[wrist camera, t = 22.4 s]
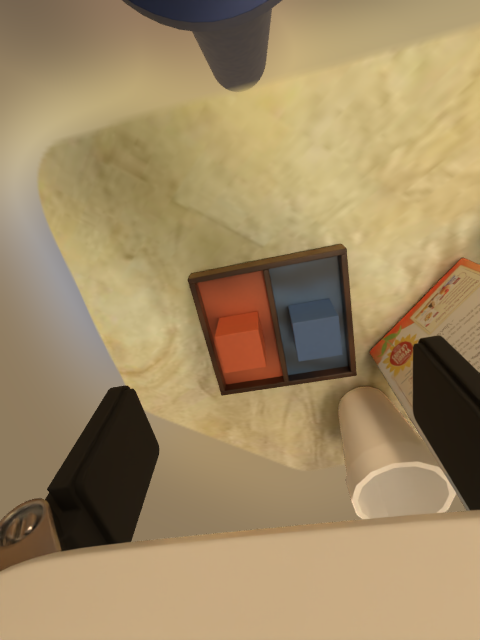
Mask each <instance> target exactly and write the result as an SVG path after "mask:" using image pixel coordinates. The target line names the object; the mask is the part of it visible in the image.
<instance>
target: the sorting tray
mask: <svg viewBox="0 0 480 640" xmlns="http://www.w3.org/2000/svg"><path fill="white" fill-rule="evenodd" d="M188 282H189V286H190V289H191V293H192V296H193V299H194V303H195V306H196V310H197V313H198V316H199V320H200V323H201V327H202V330H203V334H204V337H205V340H206V344H207V347H208V351H209V354H210V357H211V361H212V364H213V368H214V371H215V375H216V378H217V381H218V385H219V388H220V391H221V395H228V394H235V393H242V392H249V391H255V390H262V389H269V388H276V387H282V386H289V385H296V384H303V383H309V382H316V381H323V380H330V379H337V378H343V377H350V376H356V375H357V373H356V361H355V348H354V336H353V323H352V311H351V299H350V286H349V274H348V262H347V249H346V248H345V247H344V246H343V245H342V244H338V245H333V246H328V247H323V248H318V249H313V250H308V251H303V252H298V253H292V254H287V255H282V256H277V257H272V258H267V259H262V260H257V261H252V262H247V263H242V264H237V265H232V266H227V267H222V268H217V269H211V270H206V271H201V272H196V273H191V274H190V276H189V278H188ZM323 299H330V301H331V303H332V304H333V306H334V308H335V310H336V312H337V314H338V316H339V325H340V335H341V345H342V355H338V356H331V357H325V358H318V359H312V360H306V361H298V357H297V353H296V348H295V343H294V338H293V332H292V326H291V320H290V314H289V308H288V306H290V305H295V304H301V303H306V302H312V301H318V300H323ZM256 311H258V313H259V318H260V323H261V327H262V332H263V337H264V342H265V350H266V367H261V368H255V369H248V370H242V371H235V372H229V373H225V372H224V368H223V365H222V361H221V358H220V354H219V350H218V347H217V343H216V340H215V334H216V329H217V325H218V321H219V318H222V317H228V316H233V315H239V314H245V313H250V312H256Z"/></svg>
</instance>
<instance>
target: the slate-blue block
mask: <svg viewBox="0 0 480 640" xmlns="http://www.w3.org/2000/svg"><path fill="white" fill-rule="evenodd" d="M288 308H289V314H290V320H291V326H292V332H293V338H294V343H295V348H296V353H297V357H298V361H306V360H312V359H318V358H325V357H331V356H338V355H342V345H341V335H340V325H339V316H338V314H337V312H336V310H335V308H334V306H333V304H332V303H331V301H330V299H323V300H318V301H312V302H306V303H301V304H295V305H290V306H288Z"/></svg>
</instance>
